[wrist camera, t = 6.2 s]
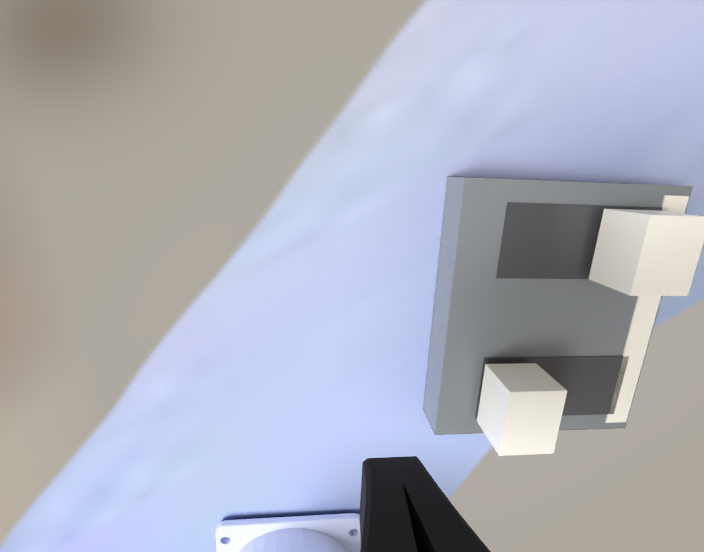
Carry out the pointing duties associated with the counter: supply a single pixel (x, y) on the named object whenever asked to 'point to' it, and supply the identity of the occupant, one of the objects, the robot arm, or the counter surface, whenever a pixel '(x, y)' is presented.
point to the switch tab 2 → (647, 251)
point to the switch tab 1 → (520, 408)
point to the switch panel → (536, 298)
